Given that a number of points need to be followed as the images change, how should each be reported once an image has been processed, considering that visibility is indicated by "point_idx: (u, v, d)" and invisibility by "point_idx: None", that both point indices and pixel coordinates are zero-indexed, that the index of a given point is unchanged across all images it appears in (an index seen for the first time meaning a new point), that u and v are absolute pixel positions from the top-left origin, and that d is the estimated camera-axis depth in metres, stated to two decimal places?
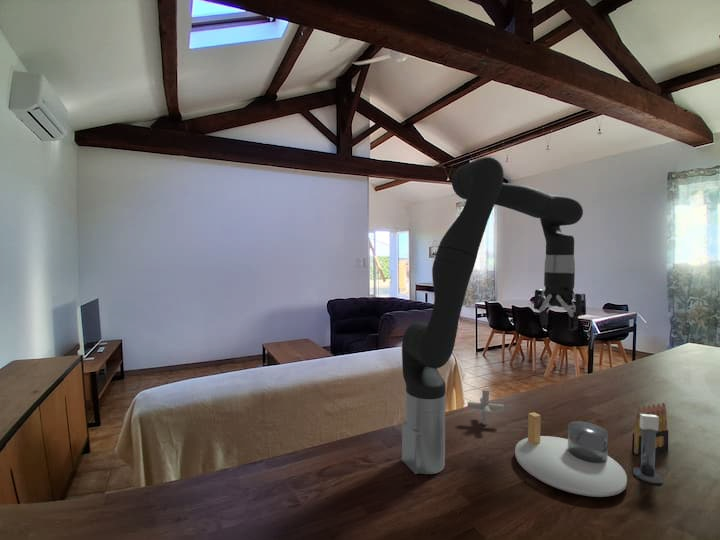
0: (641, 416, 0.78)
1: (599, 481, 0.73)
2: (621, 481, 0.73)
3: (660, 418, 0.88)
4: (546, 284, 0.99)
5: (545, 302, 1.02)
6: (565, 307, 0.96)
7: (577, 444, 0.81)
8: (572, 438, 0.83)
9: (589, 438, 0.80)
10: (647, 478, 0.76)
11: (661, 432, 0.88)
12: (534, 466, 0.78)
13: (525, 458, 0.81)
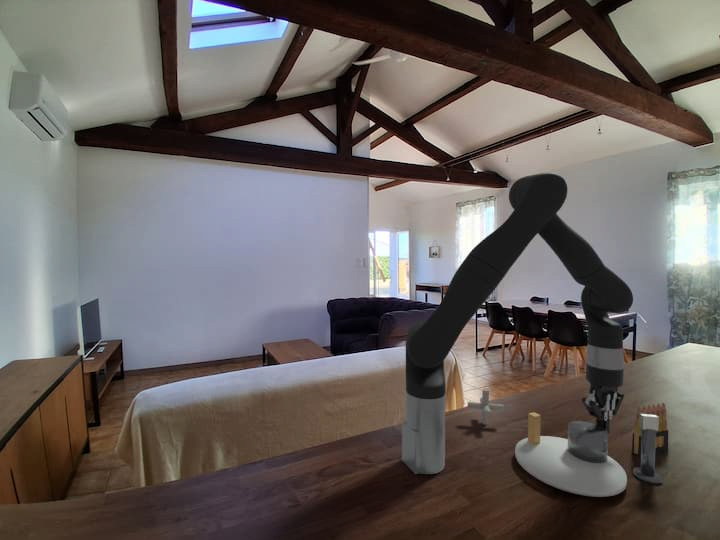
0: (641, 416, 0.78)
1: (599, 481, 0.73)
2: (621, 481, 0.73)
3: (660, 418, 0.89)
4: (616, 384, 0.82)
5: (607, 406, 0.84)
6: (613, 408, 0.84)
7: (577, 444, 0.81)
8: (572, 438, 0.83)
9: (589, 438, 0.80)
10: (647, 478, 0.76)
11: (661, 432, 0.88)
12: (534, 466, 0.78)
13: (525, 458, 0.81)
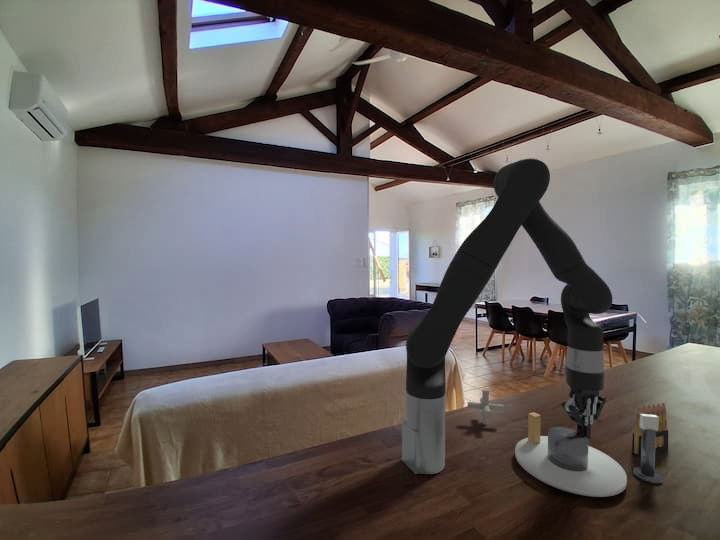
0: (641, 416, 0.78)
1: (599, 481, 0.73)
2: (621, 481, 0.73)
3: (660, 418, 0.89)
4: (596, 388, 0.78)
5: (588, 411, 0.80)
6: (594, 412, 0.81)
7: (556, 451, 0.78)
8: (551, 445, 0.80)
9: (568, 446, 0.77)
10: (647, 478, 0.76)
11: (661, 432, 0.88)
12: (534, 466, 0.78)
13: (526, 458, 0.81)
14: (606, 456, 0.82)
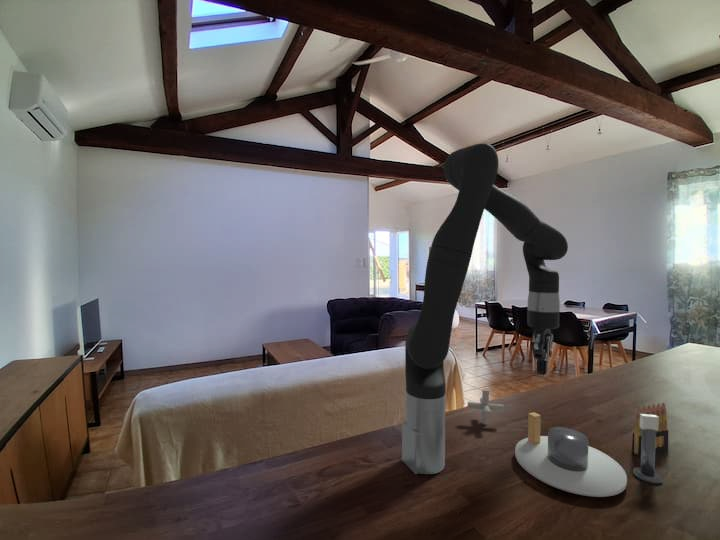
0: (641, 416, 0.78)
1: (599, 481, 0.73)
2: (621, 481, 0.73)
3: (660, 418, 0.89)
4: (556, 325, 0.89)
5: (548, 347, 0.91)
6: (550, 348, 0.92)
7: (556, 451, 0.78)
8: (551, 445, 0.80)
9: (568, 446, 0.77)
10: (647, 478, 0.76)
11: (661, 432, 0.88)
12: (534, 466, 0.78)
13: (526, 458, 0.81)
14: (606, 456, 0.82)
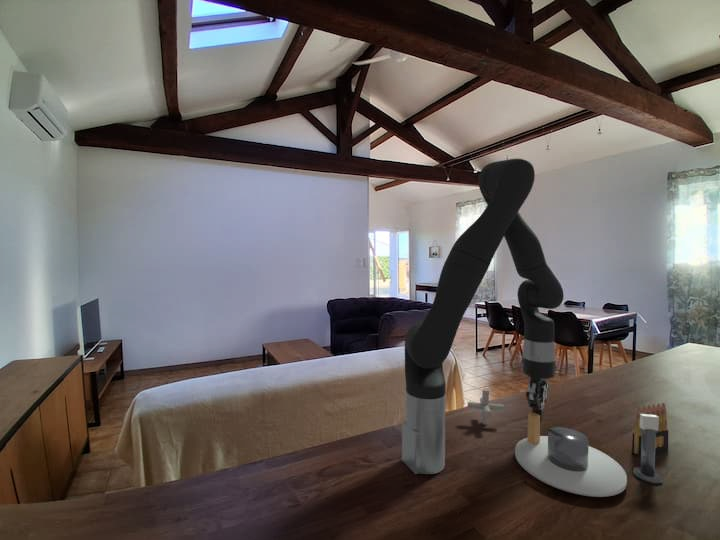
0: (641, 416, 0.78)
1: (599, 481, 0.73)
2: (621, 481, 0.73)
3: (660, 418, 0.88)
4: (552, 375, 0.88)
5: (543, 396, 0.89)
6: (545, 396, 0.91)
7: (557, 451, 0.78)
8: (552, 445, 0.79)
9: (569, 446, 0.77)
10: (647, 478, 0.76)
11: (661, 432, 0.88)
12: (534, 466, 0.78)
13: (526, 458, 0.81)
14: (605, 456, 0.82)
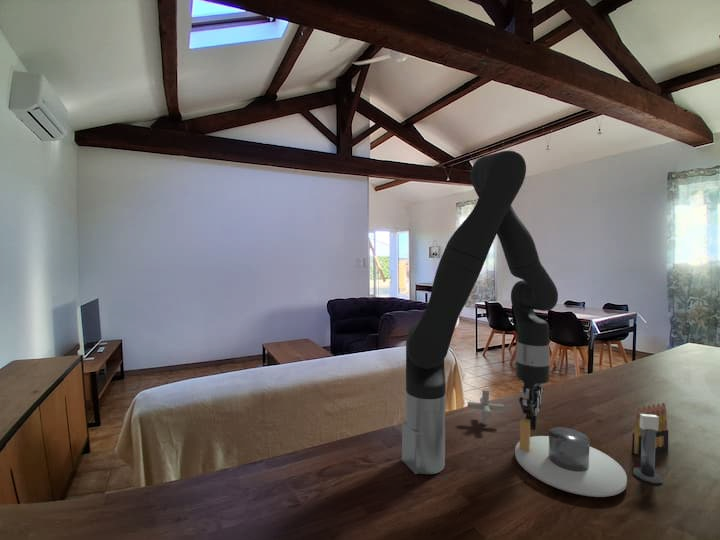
0: (641, 416, 0.78)
1: (609, 474, 0.75)
2: (619, 468, 0.78)
3: (660, 418, 0.89)
4: (546, 380, 0.84)
5: (537, 402, 0.86)
6: (540, 402, 0.87)
7: (569, 455, 0.77)
8: (562, 450, 0.77)
9: (581, 447, 0.76)
10: (647, 478, 0.76)
11: (661, 432, 0.88)
12: (557, 478, 0.74)
13: (542, 471, 0.76)
14: None
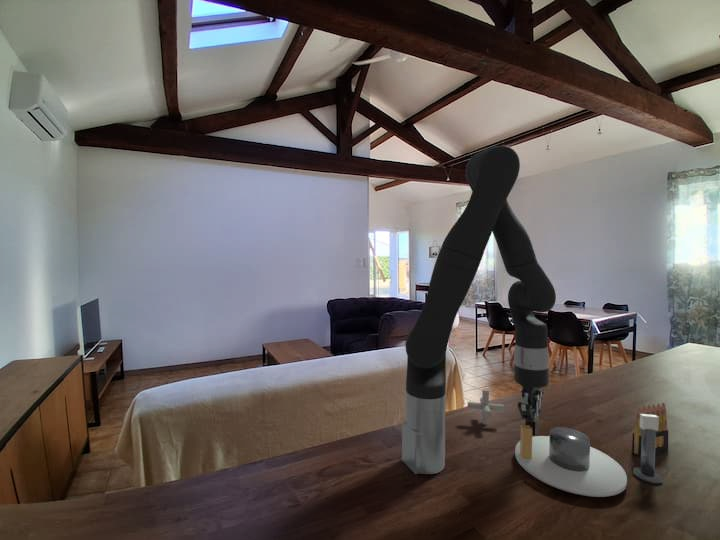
0: (641, 416, 0.78)
1: (607, 466, 0.78)
2: (607, 457, 0.82)
3: (660, 418, 0.89)
4: (545, 384, 0.81)
5: (537, 406, 0.83)
6: (539, 407, 0.84)
7: (578, 457, 0.76)
8: (571, 452, 0.76)
9: (587, 446, 0.77)
10: (647, 478, 0.76)
11: (661, 432, 0.88)
12: (579, 484, 0.72)
13: (561, 480, 0.73)
14: None
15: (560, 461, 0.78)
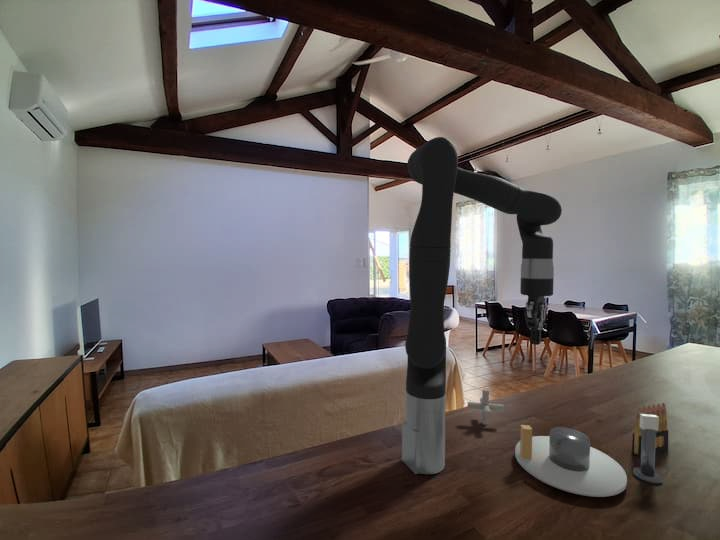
0: (641, 416, 0.78)
1: (607, 466, 0.78)
2: (607, 457, 0.82)
3: (660, 418, 0.88)
4: (550, 292, 0.86)
5: (541, 316, 0.87)
6: (544, 318, 0.89)
7: (578, 457, 0.76)
8: (571, 453, 0.76)
9: (587, 446, 0.77)
10: (647, 478, 0.76)
11: (661, 432, 0.88)
12: (579, 484, 0.72)
13: (562, 480, 0.73)
14: None
15: (560, 461, 0.78)
